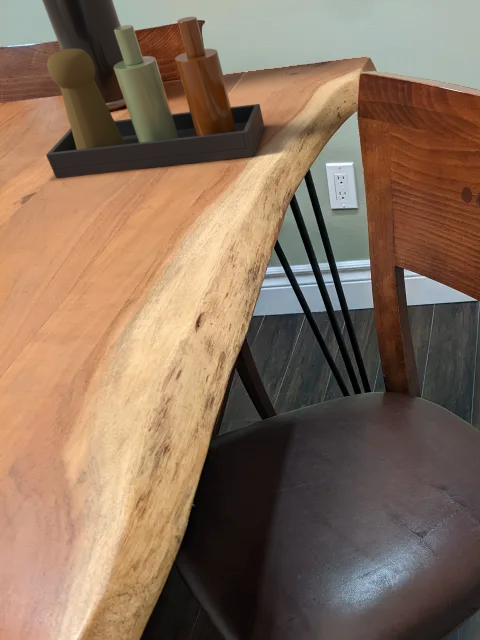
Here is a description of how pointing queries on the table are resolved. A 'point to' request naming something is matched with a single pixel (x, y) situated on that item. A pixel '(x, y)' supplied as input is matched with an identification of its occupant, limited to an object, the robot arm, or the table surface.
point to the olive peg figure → (83, 100)
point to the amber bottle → (203, 83)
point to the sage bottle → (143, 90)
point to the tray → (160, 146)
